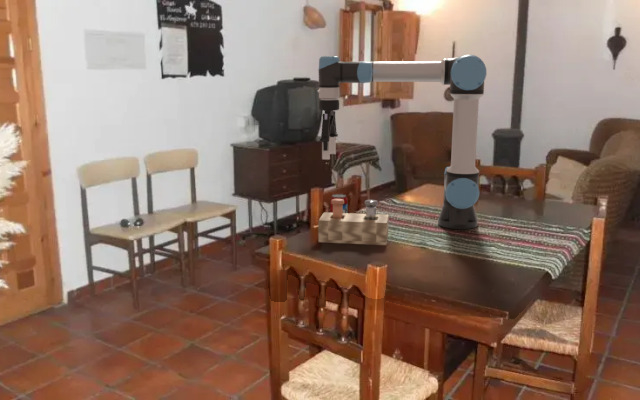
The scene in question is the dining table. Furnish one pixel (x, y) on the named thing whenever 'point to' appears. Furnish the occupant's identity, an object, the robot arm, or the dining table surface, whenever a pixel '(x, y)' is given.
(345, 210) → the beverage can
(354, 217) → the block
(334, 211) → the terracotta plug
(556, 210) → the dining table surface
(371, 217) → the grey plug
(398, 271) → the dining table surface
